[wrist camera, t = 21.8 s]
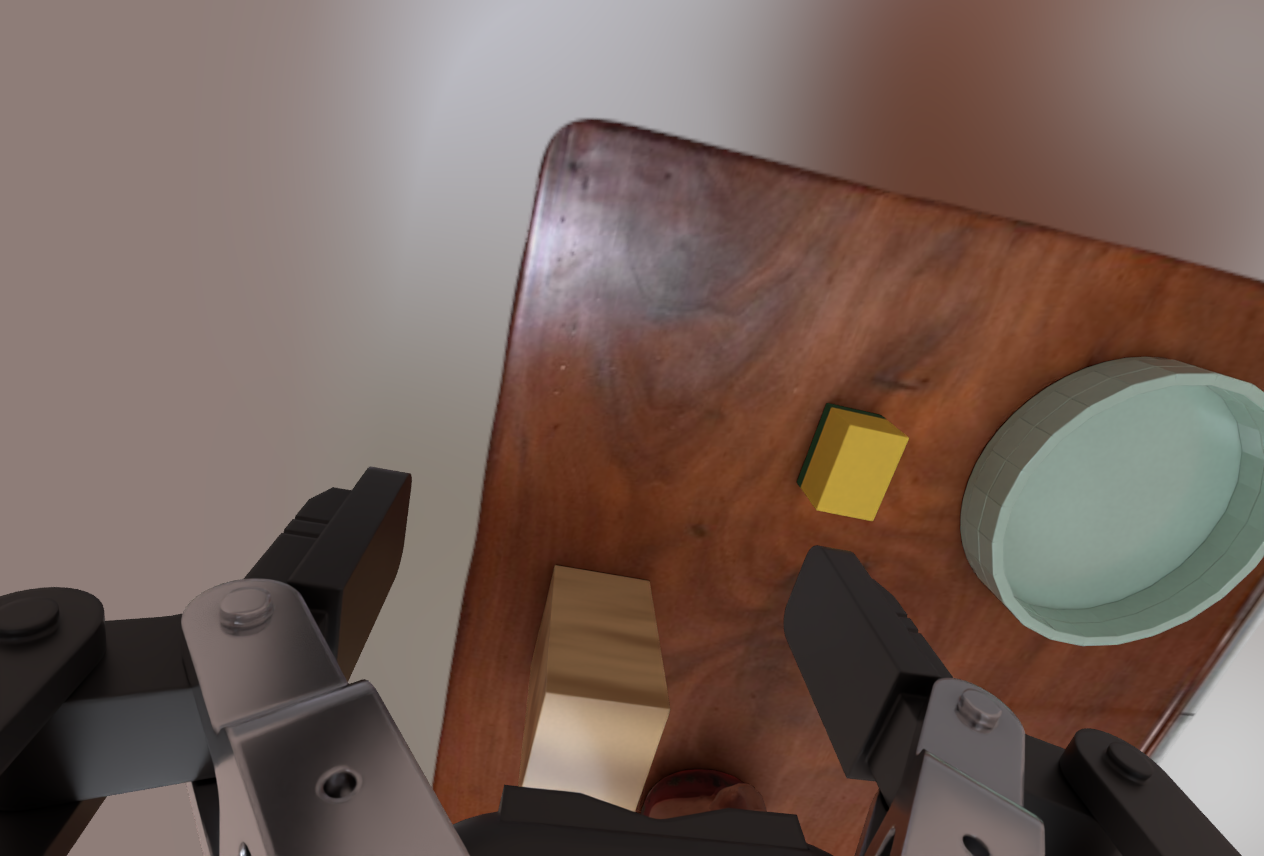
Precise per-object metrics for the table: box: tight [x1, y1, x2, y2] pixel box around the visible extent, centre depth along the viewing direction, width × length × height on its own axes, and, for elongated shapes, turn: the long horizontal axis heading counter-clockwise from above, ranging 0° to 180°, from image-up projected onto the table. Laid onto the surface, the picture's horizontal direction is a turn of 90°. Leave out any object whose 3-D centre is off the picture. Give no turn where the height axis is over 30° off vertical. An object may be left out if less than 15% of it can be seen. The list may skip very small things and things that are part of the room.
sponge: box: [797, 403, 909, 521], centre depth 41 cm, size 6×4×4 cm, turn 166°
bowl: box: [960, 357, 1264, 646], centre depth 44 cm, size 21×21×4 cm
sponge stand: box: [518, 565, 670, 812], centre depth 41 cm, size 9×7×12 cm
